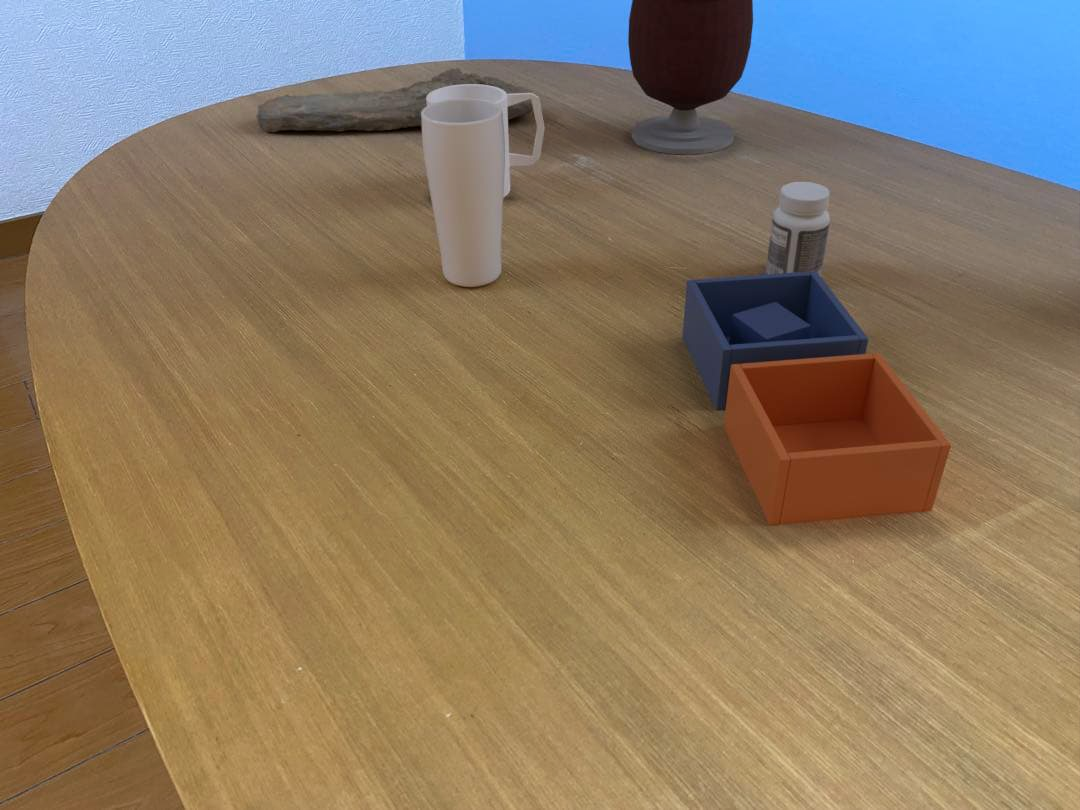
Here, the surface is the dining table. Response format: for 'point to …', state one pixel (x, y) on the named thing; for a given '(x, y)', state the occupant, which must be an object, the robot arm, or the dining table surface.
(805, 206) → the pill bottle
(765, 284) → the blue bin
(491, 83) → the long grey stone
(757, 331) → the blue block
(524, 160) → the cup
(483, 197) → the drinking glass
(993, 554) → the dining table surface
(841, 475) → the orange bin
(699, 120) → the mate gourd
